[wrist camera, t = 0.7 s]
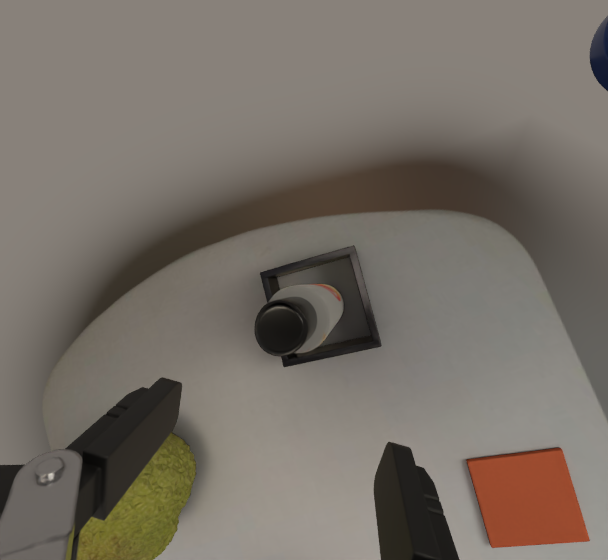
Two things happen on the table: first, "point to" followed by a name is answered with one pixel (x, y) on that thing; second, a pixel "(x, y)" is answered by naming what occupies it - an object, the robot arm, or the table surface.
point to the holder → (368, 341)
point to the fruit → (144, 509)
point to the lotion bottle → (298, 318)
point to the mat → (527, 499)
